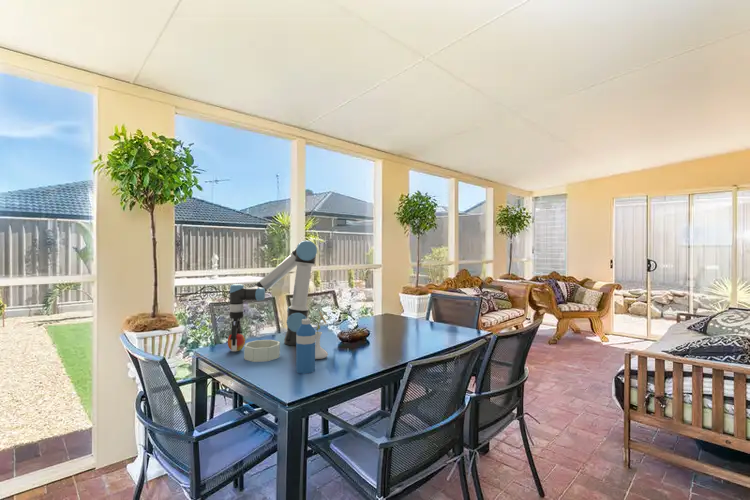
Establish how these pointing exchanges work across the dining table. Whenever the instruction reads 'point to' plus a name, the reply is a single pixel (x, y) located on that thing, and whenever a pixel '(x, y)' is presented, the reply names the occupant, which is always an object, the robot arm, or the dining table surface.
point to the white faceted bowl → (262, 350)
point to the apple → (239, 342)
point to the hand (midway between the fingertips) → (236, 347)
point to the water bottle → (305, 348)
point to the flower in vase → (319, 351)
